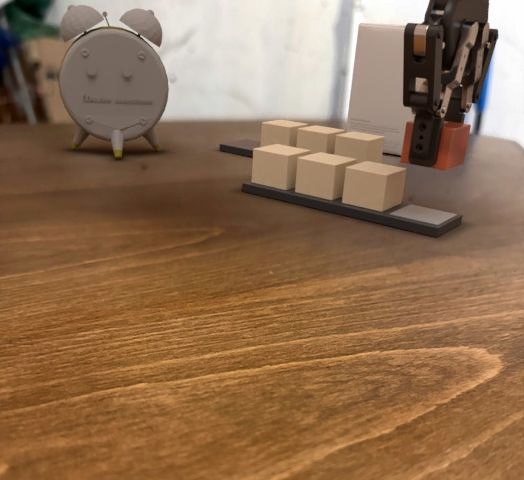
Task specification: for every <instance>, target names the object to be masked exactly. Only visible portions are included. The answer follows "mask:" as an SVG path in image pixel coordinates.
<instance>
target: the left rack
mask: <svg viewBox="0 0 524 480" xmlns="http://www.w3.org/2000/svg"><path fill="white" fill-rule="evenodd" d="M384 139H385V137H384V136H378V135H372V134H366V133H360V132H354V131H353V132H348V133H346V129H341V128H336V127H330V126H329V127H328V126H322V125H318V124H315V125H310V126H309V124H308V123H307V122H306V123H305V122H301V121H300V122H299V121H292V120H288V119H287V120H286V119H274V120H268V121H262V122H261V130H260V140H255V139H250V138H244V139H240V140H234V141H228V142H223V143H222V142H221V143H219V151H220V152H226V153H229V154H233V155H234V154H235V155H240V156H244V157H248V158H249V157H250V158H253V149H254V148H259V147H264V146H269V145H274V144H280V145H285V146H291V147H296V148H301V149H306V150H311V154H315V153H319V152H322V153H327V154H333V155H338V156H343V157H349V158H354V159H357V162H356V164H359V163H362V162H366V161H370V162H375V163H380V164H382V161H383V154H384V153H383V146H384Z"/></svg>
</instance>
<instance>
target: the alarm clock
mask: <svg viewBox="0 0 524 480" xmlns="http://www.w3.org/2000/svg"><path fill="white" fill-rule="evenodd" d="M107 17H108V12H107V11H105V10H104V11H103V12H102V14H101V13H100V11H98V10H97V9H95V8H94V7H92V6H90V5H86V4H77V5H74V4H69V5H68V6H67V10H66V11H65V13H64V14H63V15H62V18H61V21H60V26H59V29H60V36H61V38H62V40H63V42H64V43H67V42H69V41H70V40H73V39H74V41H72V43H71V44H70V45H69V47H68V48H67V50H66V51H65V53H64V55H63V58H62V60H61V61H60V67H59V72H58V89H59V94H60V99H61V101H62V103H63V106H64V109H65V110H66V112H67V113H68V116H69V117H70V118H71V119H72V121H73V122H74V123H75V124H76V125H77V128H76V131H75V134H74V137H73V140H72V144H71V146H70V147H71V148H72V149H73V150H74V151H77V150H78V149H79V148H80V147H81V146H82V145H83V143H84V142H85V141H86V139H87V138H88V137H89V136H92V137H94V138H96V139H99V140H102V141H105V142H111V147H112V151H113V156H114V158H115V159H116V160H121V159H122V156H123V148H124V143H127V142H130V141H134V140H137V139H139V138H142V137H143V139H145V140H146V142H147V143H148V144H149V145H150V146H151V148H152V149H153V150H154V151H155V152H159V151H160V150H161V145H160V143H159V140H158V137H157V135H156V132H155V129H154V128H155V126H156V125H157V124H158V123H159V122H160V120H161V119H162V117H163V115H164V113H165V111H166V107H167V103H168V100H169V91H170V88H169V78H168V75H167V71H166V67H165V65H164V63H163V61H162V59H161V57H160V55H159V54H158V53H157V51H156V50H155V49H154V47H153V46H152V45H150V44H149V42H150V43H152V44H154V45H155V46H157V47H158V48H160V47H161V45H162V43H163V28H162V25H161V23H160V21H159V19H158V18H157V17H156V16H155V12H154V11H153V10H152V9H143V8H132V9H130V10H128V11H125V12H124V13H123V14H122V15H121V16H120V18H119V22H121V23H122V24H124V25H125V26H126V27H128V28H129V29H131V30H133V31H131V30H129V29H127V28H125V27H120V26H113V25H110V23H109V20H108V18H107ZM103 21H106V24H107V26H105V25H104V26H98V27H95V26H97V25H98V24H101V22H103ZM93 27H95V28H93ZM75 38H76V39H75ZM145 39H146V40H145ZM148 41H149V42H148Z"/></svg>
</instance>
